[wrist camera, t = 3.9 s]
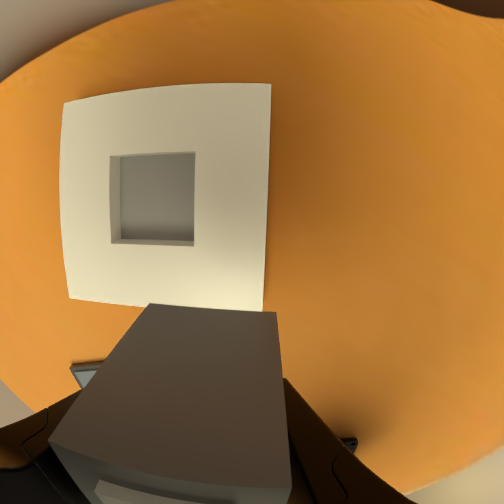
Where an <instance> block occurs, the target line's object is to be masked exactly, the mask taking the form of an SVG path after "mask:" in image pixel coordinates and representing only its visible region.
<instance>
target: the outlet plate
mask: <svg viewBox="0 0 504 504" xmlns="http://www.w3.org/2000/svg"><path fill="white" fill-rule="evenodd" d="M270 113H271V84H263V83H206V84H186V85H173V86H162V87H152V88H143V89H136V90H129V91H122V92H116V93H110V94H104V95H99V96H94V97H89V98H84V99H79V100H75V101H70V102H66V103H64V108H63V117H62V128H61V143H60V171H59V190H60V218H61V233H62V245H63V254H64V263H65V271H66V278H67V285H68V291H69V297H70V298H72V299H79V300H87V301H94V302H103V303H111V304H120V305H129V306H139V307H147V306H148V304H149V303H156V304H166V305H176V306H188V307H200V308H213V309H227V310H244V311H262V308H263V288H264V268H265V246H266V223H267V199H268V173H269V145H270Z"/></svg>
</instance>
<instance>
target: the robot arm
mask: <svg viewBox="0 0 504 504" xmlns="http://www.w3.org/2000/svg"><path fill="white" fill-rule="evenodd" d="M283 386H284V397H285V408H286V419H287V431H288V443H289V455H290V468H291V481H292V489H291V492H290V495H289V498H288V501H287V504H418V503H415V502H413V501H411V500H409V499H408V498H406V497H405V496H404V495H402V494H401V493H399V492H398V491H397V490H395V489H394V488H393V487H391V486H390V485H389V484H387V483H386V482H385V481H383V480H382V479H381V478H380V477H378V476H377V475H376V474H375V473H373V472H372V471H371V470H370V469H369V468H367V467H366V466H365V465H364V464H363V463H362V462H361V461H360V460H359V459H358V458H357V457H356V456H355V455H354V451H355V449H356V447H357V444H358V441H357V439H356V438H352V439H342V440H340V439H339V438H338V437H337V436H336V435H335V434H334V433H333V432H332V431H331V429H330V428H329V427H328V426H327V425H326V424H325V423H324V422H323V420H322V419H321V418H320V417H319V416H318V415H317V414H316V413H315V411H314V410H313V409H312V408H311V407H310V406H309V405H308V403H307V402H306V401H305V400H304V399H303V398H302V396H301V395H300V394H299V393H298V392H297V391H296V389H295V388H294V387H293V386H292V385H291V384H290V382H289V381H288V380H287V379H286V378H283ZM83 389H84V388H83ZM83 389H81V390H79V391H77V392H75V393H74V394H72V395H70V396H68V397H66V398H64V399H62V400H60V401H59V402H57V403H55V404H53V405H51V406H49V407H48V408H45V409H43V410H41V411H39V412H37V413H35V414H33V415H31V416H29V417H27V418H25V419H22V420H20V421H18V422H15V423H13V424H10V425H7V426H5V427H2V428H0V504H91V502H90V501H89V500H88V499H87V497H86V496H85V495H84V494H83V492H82V491H81V490H80V488H79V487H78V486H77V484H76V483H75V481H74V480H73V479H72V477H71V476H70V474H69V473H68V472H67V470H66V469H65V467H64V466H63V464H62V463H61V461H60V460H59V458H58V457H57V455H56V453H55V452H54V450H53V449H52V447H51V445H50V444H49V442H48V439H49V437H50V436H51V434H52V433H53V431H54V430H55V429H56V427H57V426H58V424H59V423H60V421H61V420H62V418H63V417H64V416H65V414H66V413H67V411H68V410H69V409H70V407H71V406H72V404H73V403H74V401H75V400H76V399H77V397H78V396H79V395H80V393H81V392H82V390H83Z"/></svg>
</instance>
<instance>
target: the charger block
mask: <svg viewBox="0 0 504 504" xmlns="http://www.w3.org/2000/svg"><path fill="white" fill-rule="evenodd" d="M48 442H49V444H50V445H51V447H52V449H53V450H54V452H55V453H56V455H57V457H58V458H59V460H60V461H61V463H62V464H63V466H64V467H65V469H66V470H67V472H68V473H69V474H70V476H71V477H72V479H73V480H74V481H75V483H76V484H77V486H78V487H79V488H80V490H81V491H82V492H83V494H84V495H85V496H86V497H87V499H88V500H89V501H90V502H91V504H287V501H288V498H289V495H290V492H291V489H292V481H291V468H290V455H289V443H288V431H287V419H286V408H285V397H284V386H283V375H282V365H281V354H280V344H279V334H278V324H277V315H276V312H262V311H244V310H227V309H213V308H200V307H188V306H176V305H166V304H156V303H149V304H148V306H147V307H146V308H145V309H144V311H143V312H142V313H141V314H140V316H139V317H138V318H137V319H136V321H135V322H134V323H133V324H132V326H131V327H130V328H129V329H128V331H127V332H126V333H125V335H124V336H123V337H122V338H121V340H120V341H119V342H118V344H117V345H116V346H115V348H114V349H113V350H112V351H111V353H110V354H109V355H108V357H107V358H106V359H105V361H104V362H103V363H102V365H101V366H100V367H99V369H98V370H97V371H96V373H95V374H94V375H93V377H92V378H91V379H90V381H89V382H88V384H87V385H86V386H85V388H84V389H83V390H82V392H81V393H80V395H79V396H78V397H77V399H76V400H75V401H74V403H73V404H72V406H71V407H70V409H69V410H68V411H67V413H66V414H65V416H64V417H63V418H62V420H61V421H60V423H59V424H58V426H57V427H56V429H55V430H54V431H53V433H52V434H51V436H50V437H49V439H48Z"/></svg>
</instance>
